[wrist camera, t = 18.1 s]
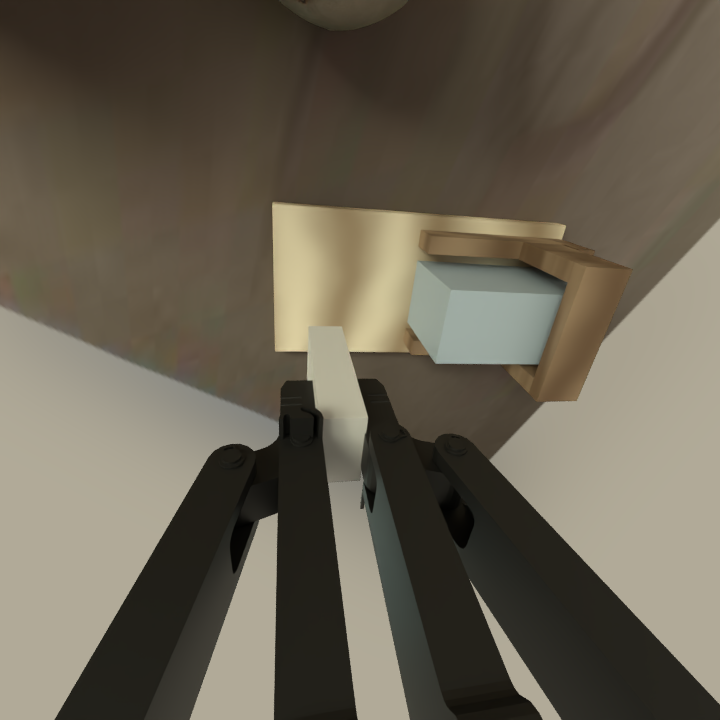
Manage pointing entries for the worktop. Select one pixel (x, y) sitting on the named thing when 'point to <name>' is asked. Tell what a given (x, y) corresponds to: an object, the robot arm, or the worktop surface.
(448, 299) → the pale blue tall block
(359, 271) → the rail board
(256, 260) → the worktop surface
